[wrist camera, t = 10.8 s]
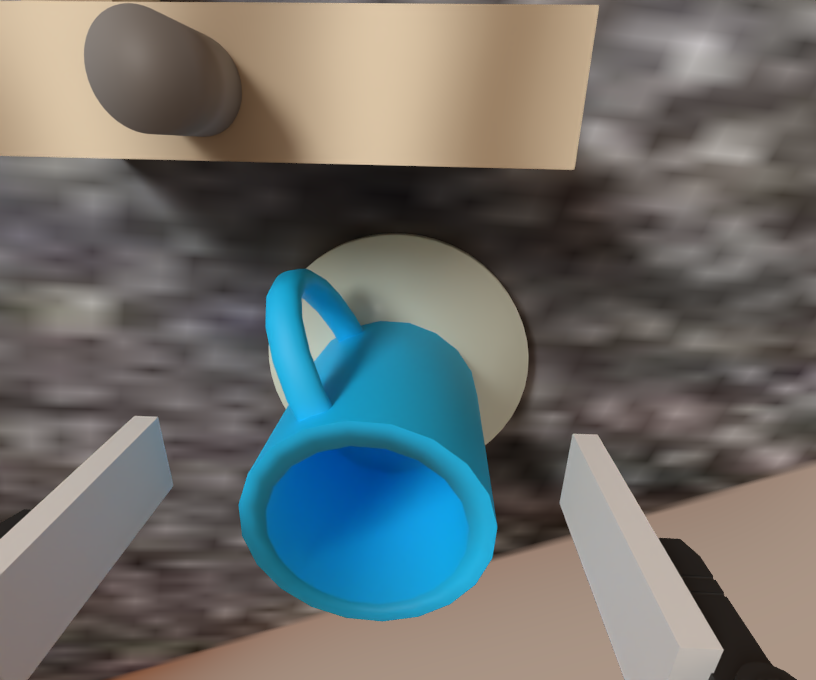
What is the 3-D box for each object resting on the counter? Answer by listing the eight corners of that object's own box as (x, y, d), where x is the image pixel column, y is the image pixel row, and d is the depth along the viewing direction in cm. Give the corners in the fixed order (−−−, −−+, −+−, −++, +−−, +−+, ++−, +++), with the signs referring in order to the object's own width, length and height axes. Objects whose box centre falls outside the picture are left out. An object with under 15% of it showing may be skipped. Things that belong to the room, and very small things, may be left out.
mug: (501, 441, 23) (533, 588, 15) (353, 489, 24) (315, 642, 17) (400, 208, 19) (374, 249, 11) (232, 285, 20) (110, 365, 13)
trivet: (285, 456, 25) (280, 465, 24) (262, 228, 20) (255, 231, 19) (511, 469, 24) (513, 479, 23) (541, 237, 19) (545, 240, 19)
